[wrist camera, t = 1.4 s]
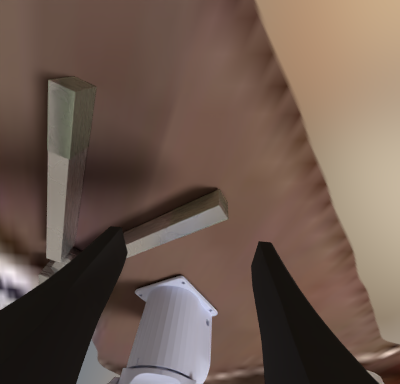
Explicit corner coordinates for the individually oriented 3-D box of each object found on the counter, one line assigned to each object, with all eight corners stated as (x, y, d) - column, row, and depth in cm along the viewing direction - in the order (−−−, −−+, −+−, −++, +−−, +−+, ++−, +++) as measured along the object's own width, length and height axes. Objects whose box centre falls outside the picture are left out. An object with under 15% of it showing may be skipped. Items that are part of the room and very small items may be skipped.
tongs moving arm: (78, 264, 26) (67, 281, 24) (61, 250, 25) (47, 267, 23) (227, 201, 19) (228, 218, 17) (212, 178, 18) (211, 194, 16)
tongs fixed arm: (88, 277, 28) (75, 298, 26) (55, 266, 27) (38, 287, 25) (127, 101, 15) (109, 109, 13) (66, 72, 15) (34, 76, 12)
